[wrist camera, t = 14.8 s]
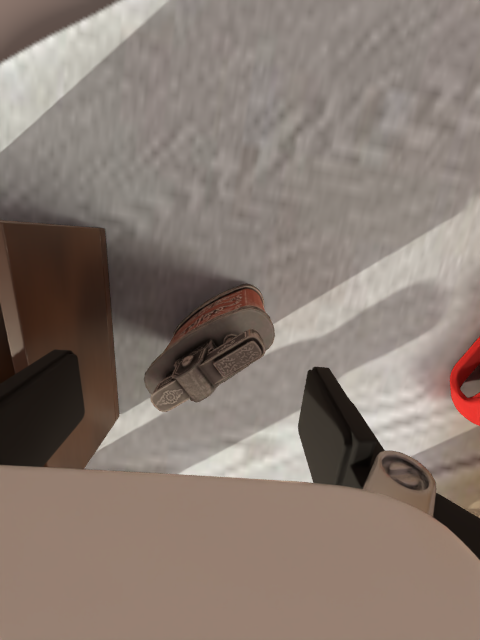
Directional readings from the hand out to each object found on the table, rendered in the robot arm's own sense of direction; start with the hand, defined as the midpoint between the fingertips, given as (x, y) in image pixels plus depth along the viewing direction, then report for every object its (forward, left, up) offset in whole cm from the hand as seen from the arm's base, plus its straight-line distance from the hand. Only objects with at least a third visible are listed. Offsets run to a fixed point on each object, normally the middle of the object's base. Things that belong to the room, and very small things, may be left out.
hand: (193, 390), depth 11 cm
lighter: (0, 0, -11) cm, 11 cm away
